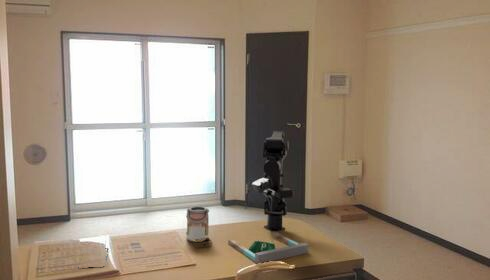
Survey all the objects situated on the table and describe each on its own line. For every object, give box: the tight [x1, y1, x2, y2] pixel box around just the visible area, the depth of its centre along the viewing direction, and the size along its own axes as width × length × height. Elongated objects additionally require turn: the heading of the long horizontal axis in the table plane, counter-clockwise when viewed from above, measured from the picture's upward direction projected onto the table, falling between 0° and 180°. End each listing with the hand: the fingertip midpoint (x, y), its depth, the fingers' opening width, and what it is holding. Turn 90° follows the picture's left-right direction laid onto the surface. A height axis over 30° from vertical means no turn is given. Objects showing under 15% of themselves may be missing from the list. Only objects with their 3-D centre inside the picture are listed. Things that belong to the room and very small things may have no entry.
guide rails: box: [227, 231, 292, 254], centre depth 159 cm, size 11×21×2 cm, turn 120°
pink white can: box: [186, 206, 210, 242], centre depth 161 cm, size 9×8×12 cm
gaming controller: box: [248, 238, 276, 254], centre depth 150 cm, size 9×4×6 cm
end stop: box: [254, 242, 309, 264], centre depth 146 cm, size 2×21×3 cm, turn 120°
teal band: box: [242, 239, 299, 262], centre depth 151 cm, size 8×21×2 cm, turn 120°
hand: (272, 211), depth 163 cm, fingers closed
